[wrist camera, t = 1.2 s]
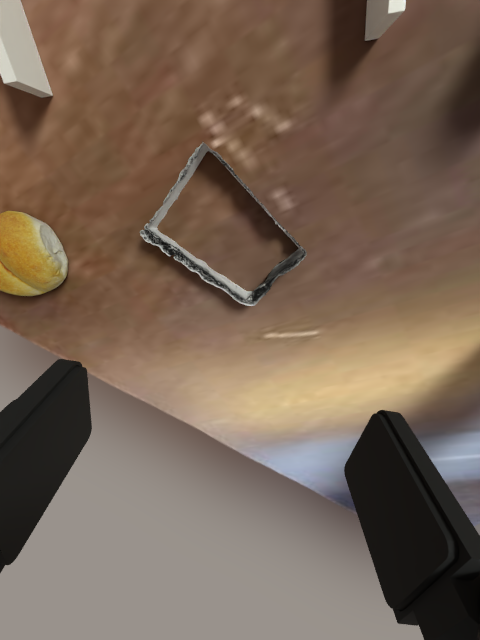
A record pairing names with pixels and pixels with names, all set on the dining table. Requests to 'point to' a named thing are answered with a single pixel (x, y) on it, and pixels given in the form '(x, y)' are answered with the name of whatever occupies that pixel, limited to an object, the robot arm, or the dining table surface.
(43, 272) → the bread roll
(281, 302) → the dining table surface
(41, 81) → the box
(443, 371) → the dining table surface
